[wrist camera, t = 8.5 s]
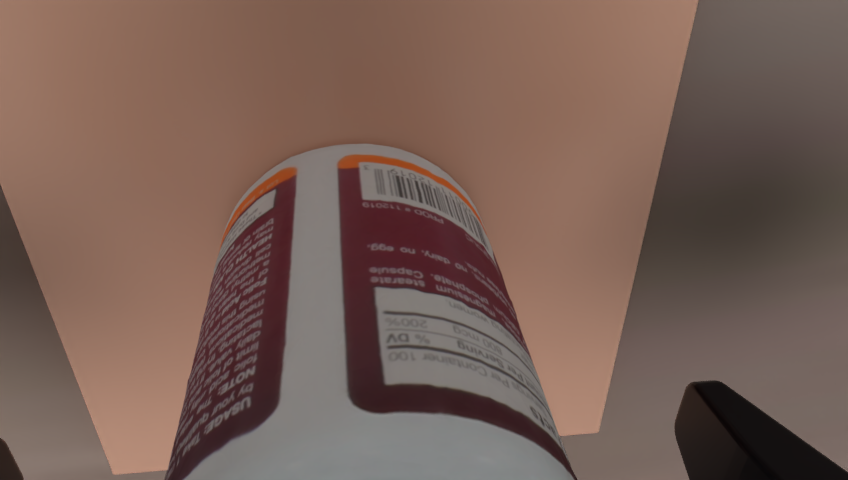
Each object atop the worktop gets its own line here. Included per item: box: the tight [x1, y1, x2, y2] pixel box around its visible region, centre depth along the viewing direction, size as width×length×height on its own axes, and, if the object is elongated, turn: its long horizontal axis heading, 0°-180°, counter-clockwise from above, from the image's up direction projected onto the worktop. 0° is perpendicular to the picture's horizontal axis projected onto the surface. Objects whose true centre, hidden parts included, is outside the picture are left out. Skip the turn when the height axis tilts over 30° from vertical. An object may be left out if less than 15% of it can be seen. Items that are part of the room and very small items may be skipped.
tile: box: [0, 0, 699, 475], centre depth 12 cm, size 11×11×1 cm
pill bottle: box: [165, 143, 577, 480], centre depth 9 cm, size 5×5×8 cm
